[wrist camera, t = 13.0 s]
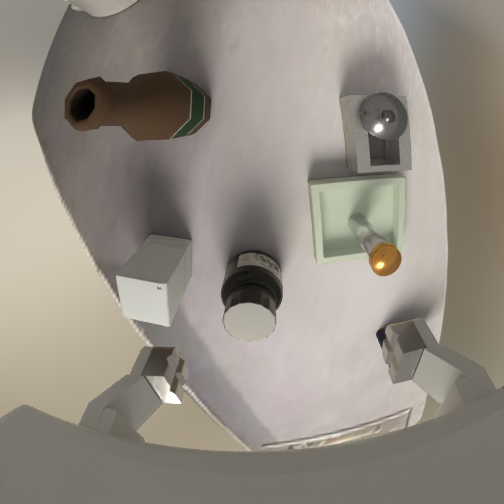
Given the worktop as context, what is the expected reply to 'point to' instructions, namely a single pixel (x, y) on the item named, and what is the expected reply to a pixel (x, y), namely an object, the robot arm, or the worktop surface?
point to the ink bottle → (251, 295)
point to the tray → (351, 202)
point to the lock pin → (375, 246)
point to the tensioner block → (376, 131)
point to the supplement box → (155, 279)
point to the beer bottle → (139, 106)
